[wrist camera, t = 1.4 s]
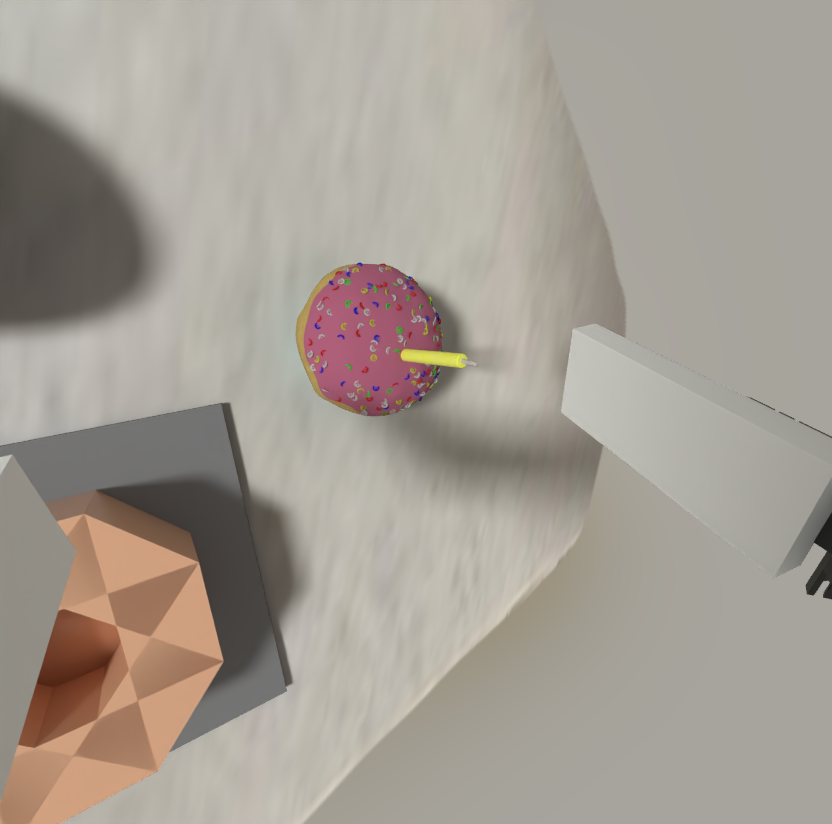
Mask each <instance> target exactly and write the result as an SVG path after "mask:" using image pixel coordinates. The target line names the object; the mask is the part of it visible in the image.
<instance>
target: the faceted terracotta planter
mask: <svg viewBox="0 0 832 824" xmlns="http://www.w3.org/2000/svg"><path fill="white" fill-rule="evenodd" d="M45 504H46V506H47V507H48V509H49V510H50V512H51V514H52V515H53V517H54V518H55V520H56V521H57V523H58V524H59V526H60V527H61V529H62V530H63V532H64V533H65V535H66V536H67V538H68V539H69V541H70V542H71V544H72V545H73V547H74V548H75V550H76V553H75V557H74V560H73V563H72V567H71V570H70V573H69V576H68V580H67V583H66V586H65V590H64V593H63V596H62V600H61V603H60V606H59V610H58V613H57V616H56V620H55V623H54V626H53V630H52V633H51V636H50V640H49V643H48V646H47V650H46V653H45V656H44V660H43V663H42V666H41V670H40V673H39V676H38V679H37V683H36V686H35V689H34V693H33V696H32V699H31V703H30V706H29V709H28V713H27V716H26V719H25V723H24V726H23V729H22V733H21V736H20V739H19V743H18V746H17V749H16V753H15V756H14V759H13V763H12V766H11V769H10V773H9V776H8V779H7V782H6V786H5V789H4V792H3V796H2V799H1V802H0V824H59V823H61V822H63V821H65V820H67V819H69V818H71V817H72V816H74V815H76V814H78V813H80V812H82V811H84V810H86V809H88V808H89V807H91V806H93V805H95V804H97V803H99V802H101V801H103V800H104V799H106V798H108V797H110V796H112V795H114V794H116V793H118V792H120V791H121V790H123V789H125V788H127V787H129V786H131V785H133V784H135V783H136V782H138V781H140V780H142V779H144V778H146V777H148V776H150V775H151V774H153V773H155V772H157V771H158V769H159V768H160V766H161V764H162V763H163V761H164V759H165V758H166V756H167V754H168V753H169V751H170V750H171V748H172V746H173V745H174V743H175V741H176V740H177V738H178V736H179V735H180V733H181V731H182V730H183V728H184V726H185V725H186V723H187V721H188V720H189V718H190V716H191V715H192V713H193V711H194V710H195V708H196V706H197V705H198V703H199V701H200V700H201V698H202V696H203V695H204V693H205V691H206V690H207V688H208V686H209V685H210V683H211V681H212V680H213V678H214V677H215V675H216V673H217V672H218V670H219V668H220V667H221V665H222V663H223V662H224V660H223V657H222V653H221V649H220V645H219V641H218V637H217V633H216V629H215V625H214V621H213V617H212V613H211V609H210V605H209V601H208V597H207V593H206V589H205V585H204V581H203V577H202V573H201V569H200V565H199V560H198V557H197V554H196V550H195V547H194V544H193V540H192V537H191V534H190V532H188V531H186V530H184V529H182V528H179V527H177V526H175V525H173V524H170V523H168V522H166V521H164V520H162V519H159V518H157V517H155V516H153V515H150V514H148V513H146V512H144V511H142V510H139V509H137V508H135V507H133V506H131V505H128V504H126V503H124V502H122V501H119V500H117V499H115V498H113V497H111V496H108V495H106V494H104V493H102V492H99V491H97V490H94V491H90V492H86V493H82V494H78V495H74V496H70V497H66V498H62V499H58V500H54V501H50V502H46V503H45Z"/></svg>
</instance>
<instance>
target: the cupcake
mask: <svg viewBox="0 0 832 824" xmlns="http://www.w3.org/2000/svg"><path fill="white" fill-rule="evenodd" d="M411 279H412V280H411ZM435 312H436V310H435V308H434V307H433V305H432V302H431V297H427V295H426V294H425V292H424V291H423V290H422V289H421V288H420V287H419V286H418V283H417V282H416V281H414V279H413V278H412V277H410V276H409V277H408V276H406V275H405V274H403V273H402V272H400V271H399V270H397V269H395V268H393V267H391V266H387V265H386V264H380V265H376V264H362V263H358V264H352V265H346V266H342V267H339V268H337V269H335V270H333V271H332V272H330V273H329V274H327V275H326V276H325V277H323V279H322V280H321V281H320V282H319V283H318V284H317V286H316V287H315V288H314V290H313V292H312V293H311V295H310V297H309V299H308V301H307V303H306V305H305V307H304V309H303V310H302V312H301V313H300V315H299V316H298V319H297V324H296V341H297V347H298V351H299V354H300V357H301V360H302V363H303V365H304V368H305V370H306V373H307V375H308V377H309V379H310V382H311V384H312V386H313V388H314V390H315V391H316V393H317V394H318V395H319V396H320V397H322V398H323V399H325V400H327V401H329V402H331V403H333V404H335V405H336V406H338V407H340V408H343V409H345V410H348V411H350V412H353V413H357V414H361V415H365V416H385V415H389V414H393V413H396V412H398V411H400V410H405V408H409V407H410V406H411V405H412V404H413V403H415V402H416V401H417V400H419V401H421V399H422V396H423V395H425V394H428V392H427V391H428V390H431V389H429V388H431V387H432V386H433V383H436V382H437V381H438V379H437V376H436V375H438V374H439V370H440V368H439V366H448V367H457V368H463V367H465V366H466V365H472V366H475V367H477V366H478V363H477V362H475V361H469V360H467V357H466V355H465V354H462V353H450V352H442V350H441V349H442V343H441V338H443V334H442V332H440V330H441V328H440V326H439V324H440V323H441V320H440V318H439V315H438V314H437V313H435ZM436 315H437V316H438V317H437V316H436ZM439 321H440V322H439ZM438 322H439V323H438ZM441 334H442V337H441ZM436 373H437V374H436ZM435 380H436V382H435ZM431 385H432V386H431Z"/></svg>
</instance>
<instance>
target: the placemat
mask: <svg viewBox="0 0 832 824" xmlns="http://www.w3.org/2000/svg"><path fill="white" fill-rule="evenodd" d="M8 455H13V456H14V458H15V459H16V461H17V462H18V464H19V465H20V467H21V468H22V470H23V471H24V473H25V474H26V476H27V477H28V479H29V480H30V482H31V483H32V485H33V486H34V488H35V489H36V491H37V492H38V494H39V495H40V497H41V498H42V500H43V501H44V503H46V502H50V501H54V500H58V499H62V498H66V497H70V496H74V495H78V494H82V493H86V492H90V491H94V490H97V491H99V492H102V493H104V494H106V495H108V496H111V497H113V498H115V499H117V500H119V501H122V502H124V503H126V504H128V505H131V506H133V507H135V508H137V509H139V510H142V511H144V512H146V513H148V514H150V515H153V516H155V517H157V518H159V519H162V520H164V521H166V522H168V523H170V524H173V525H175V526H177V527H179V528H182V529H184V530H186V531H188V532H190V534H191V537H192V540H193V544H194V547H195V550H196V554H197V557H198V560H199V565H200V569H201V573H202V577H203V581H204V585H205V589H206V593H207V597H208V601H209V605H210V609H211V613H212V617H213V621H214V625H215V629H216V633H217V637H218V641H219V645H220V649H221V653H222V657H223V660H224V662H223V663H222V665H221V667H220V668H219V670H218V672H217V673H216V675H215V677H214V678H213V680H212V681H211V683H210V685H209V686H208V688H207V690H206V691H205V693H204V695H203V696H202V698H201V700H200V701H199V703H198V705H197V706H196V708H195V710H194V711H193V713H192V715H191V716H190V718H189V720H188V721H187V723H186V725H185V726H184V728H183V730H182V731H181V733H180V735H179V736H178V738H177V740H176V741H175V743H174V745H173V746H172V748H171V750H170V751H169V752H171V751H173V750H175V749H176V748H178V747H180V746H182V745H184V744H186V743H188V742H190V741H192V740H194V739H196V738H198V737H200V736H201V735H203V734H205V733H207V732H209V731H211V730H213V729H215V728H217V727H219V726H221V725H223V724H225V723H227V722H228V721H230V720H232V719H234V718H236V717H238V716H240V715H242V714H244V713H246V712H248V711H250V710H252V709H253V708H255V707H257V706H259V705H261V704H263V703H265V702H267V701H269V700H271V699H273V698H275V697H277V696H278V695H280V694H282V693H284V692H286V691H287V689H286V685H285V681H284V676H283V672H282V668H281V663H280V659H279V654H278V650H277V646H276V641H275V637H274V633H273V628H272V624H271V619H270V615H269V611H268V606H267V602H266V598H265V593H264V589H263V585H262V580H261V576H260V571H259V567H258V563H257V558H256V554H255V550H254V545H253V541H252V536H251V532H250V528H249V523H248V519H247V515H246V510H245V506H244V501H243V497H242V493H241V488H240V484H239V480H238V475H237V471H236V466H235V462H234V458H233V453H232V449H231V445H230V440H229V436H228V431H227V427H226V423H225V418H224V414H223V410H222V405H221V404H215V405H209V406H204V407H199V408H194V409H189V410H183V411H178V412H173V413H168V414H163V415H158V416H152V417H147V418H142V419H137V420H132V421H127V422H121V423H116V424H111V425H106V426H101V427H96V428H90V429H85V430H80V431H75V432H70V433H65V434H59V435H54V436H49V437H44V438H39V439H34V440H28V441H23V442H18V443H13V444H8V445H2V446H0V457H3V456H8Z"/></svg>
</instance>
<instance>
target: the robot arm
mask: <svg viewBox="0 0 832 824" xmlns="http://www.w3.org/2000/svg"><path fill="white" fill-rule="evenodd" d="M561 413H562V414H564V415H565V416H566V417H568V418H569V419H570V420H571V421H573V422H574V423H575V424H577V425H578V426H579V427H580V428H582V429H583V430H584V431H586V432H587V433H588V434H589V435H591V436H592V437H593V438H595V439H596V440H597V441H598V442H600V443H601V444H602V445H603V446H605V447H606V448H607V449H609V450H610V451H611V452H613V453H614V454H615V455H616V456H618V457H619V458H620V459H622V460H623V461H624V462H626V463H627V464H628V465H629V466H630V467H632V468H633V469H634V470H636V471H637V472H638V473H639V474H641V475H642V476H643V477H644V478H646V479H647V480H648V481H650V482H651V483H652V484H654V485H655V486H656V487H658V488H659V489H660V490H661V491H663V492H664V493H665V494H666V495H668V496H669V497H670V498H671V499H673V500H674V501H675V502H677V503H678V504H679V505H681V506H682V507H683V508H684V509H686V510H687V511H688V512H689V513H691V514H692V515H693V516H695V517H696V518H697V519H698V520H700V521H701V522H702V523H703V524H705V525H706V526H707V527H709V528H710V529H711V530H713V531H714V532H715V533H717V534H718V535H719V536H720V537H721V538H723V539H724V540H725V541H727V542H728V543H729V544H731V545H732V546H733V547H734V548H736V549H737V550H738V551H739V552H741V553H742V554H743V555H745V556H746V557H747V558H748V559H750V560H751V561H752V562H753V563H755V564H756V565H757V566H759V567H760V568H762V570H764V571H765V572H766V573H768V574H769V575H770V576H772V577H773V578H775V577H777V576H779V575H781V574H783V573H785V572H787V571H789V570H791V569H793V568H796V567H797V566H799V565H801V564H802V562H803V560H804V559H805V557H806V555H807V554H808V552H809V550H810V549H811V547H812V546H813V544H814V543H816V544H817V545H819V546H820V547H822V548H823V549H825V550H826V551H827V552H826V554H825V556H824V557H823V559H822V560H821V562H820V563H819V565H818V567H817V568H816V570H815V571H814V573H813V574H812V576H811V578H810V579H809V581H808V582H807V584H806V591H807V594H809V595H814V594H815V593H816V591H817V590H818V588H819V587H820V585H821V584H822V582H823V581H829V582H830V584H829V585H828V587H827V588H826V590H825V592H824V594H823V598H829V599H832V437H831V436H829V435H827V434H825V433H823V432H821V431H819V430H816V429H814V428H812V427H810V426H808V425H806V424H804V423H802V422H798V421H796V420H795V419H794V418H792V417H790V416H788V415H785V414H783V413H781V412H777V411H775V409H773V408H771V407H769V406H767V405H765V404H763V403H761V402H759V401H757V400H754V399H752V398H749V397H746V396H744V395H742V394H740V393H738V392H736V391H734V390H732V389H730V388H728V387H725V386H723V385H721V384H719V383H717V382H715V381H713V380H711V379H709V378H707V377H705V376H703V375H701V374H699V373H696V372H694V371H693V370H690V369H688V368H686V367H684V366H682V365H680V364H678V363H676V362H674V361H672V360H670V359H668V358H666V357H664V356H662V355H659V354H658V353H655V352H653V351H651V350H649V349H647V348H645V347H643V346H641V345H639V344H637V343H635V342H633V341H631V340H629V339H627V338H625V337H623V336H620V335H618V334H616V333H614V332H612V331H610V330H608V329H606V328H604V327H602V326H600V325H598V324H596V323H595V324H590V325H586V326H582V327H577V328H573V332H572V338H571V345H570V352H569V359H568V366H567V373H566V380H565V387H564V394H563V401H562V408H561ZM75 553H76V550H75V548H74V547H73V545H72V544H71V542H70V541H69V539H68V538H67V536H66V535H65V533H64V532H63V530H62V529H61V527H60V526H59V524H58V523H57V521H56V520H55V518H54V517H53V515H52V514H51V512H50V510H49V509H48V507H47V506H46V504H45V503H44V501H43V500H42V498H41V497H40V495H39V494H38V492H37V491H36V489H35V488H34V486H33V485H32V483H31V482H30V480H29V479H28V477H27V476H26V474H25V473H24V471H23V470H22V468H21V467H20V465H19V464H18V462H17V461H16V459H15V458H14V456H13V455H8V456H3V457H0V802H1V799H2V796H3V792H4V789H5V786H6V782H7V779H8V776H9V773H10V769H11V766H12V763H13V759H14V756H15V753H16V749H17V746H18V743H19V739H20V736H21V733H22V729H23V726H24V723H25V719H26V716H27V713H28V709H29V706H30V703H31V699H32V696H33V693H34V689H35V686H36V683H37V679H38V676H39V673H40V670H41V666H42V663H43V660H44V656H45V653H46V650H47V646H48V643H49V640H50V636H51V633H52V630H53V626H54V623H55V620H56V616H57V613H58V610H59V606H60V603H61V600H62V596H63V593H64V590H65V586H66V583H67V580H68V576H69V573H70V570H71V567H72V563H73V560H74V557H75Z"/></svg>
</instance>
